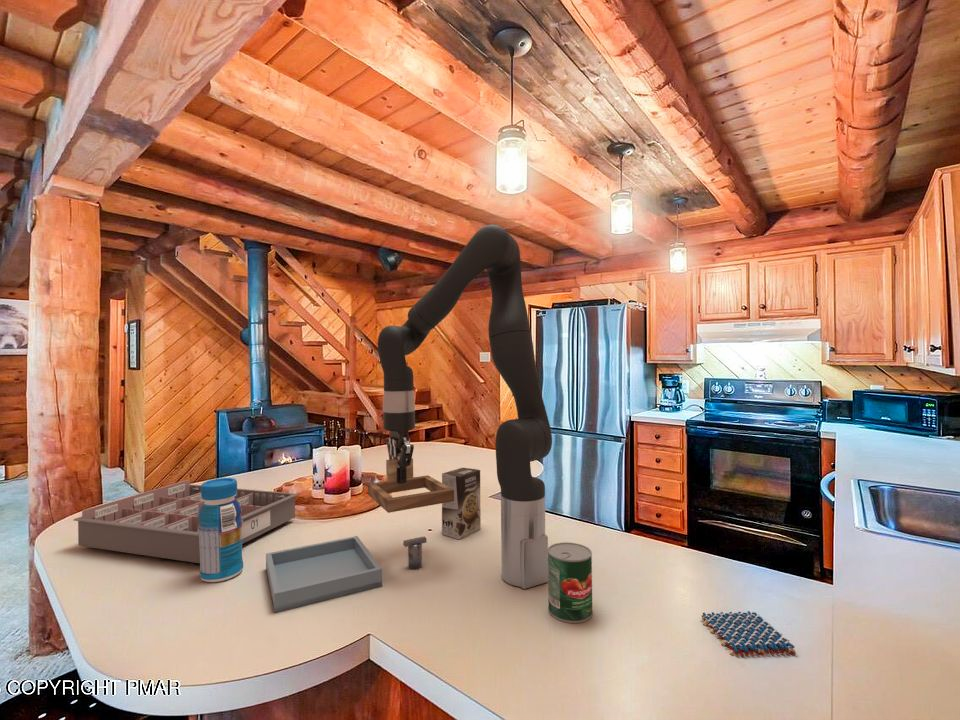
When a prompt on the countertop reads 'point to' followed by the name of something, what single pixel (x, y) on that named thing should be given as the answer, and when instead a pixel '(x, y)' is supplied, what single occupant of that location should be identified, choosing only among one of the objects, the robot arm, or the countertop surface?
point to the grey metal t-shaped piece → (415, 552)
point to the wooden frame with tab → (390, 504)
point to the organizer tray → (174, 520)
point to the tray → (320, 572)
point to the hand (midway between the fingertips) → (399, 481)
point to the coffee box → (462, 503)
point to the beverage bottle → (220, 531)
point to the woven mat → (746, 634)
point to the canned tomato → (570, 582)
